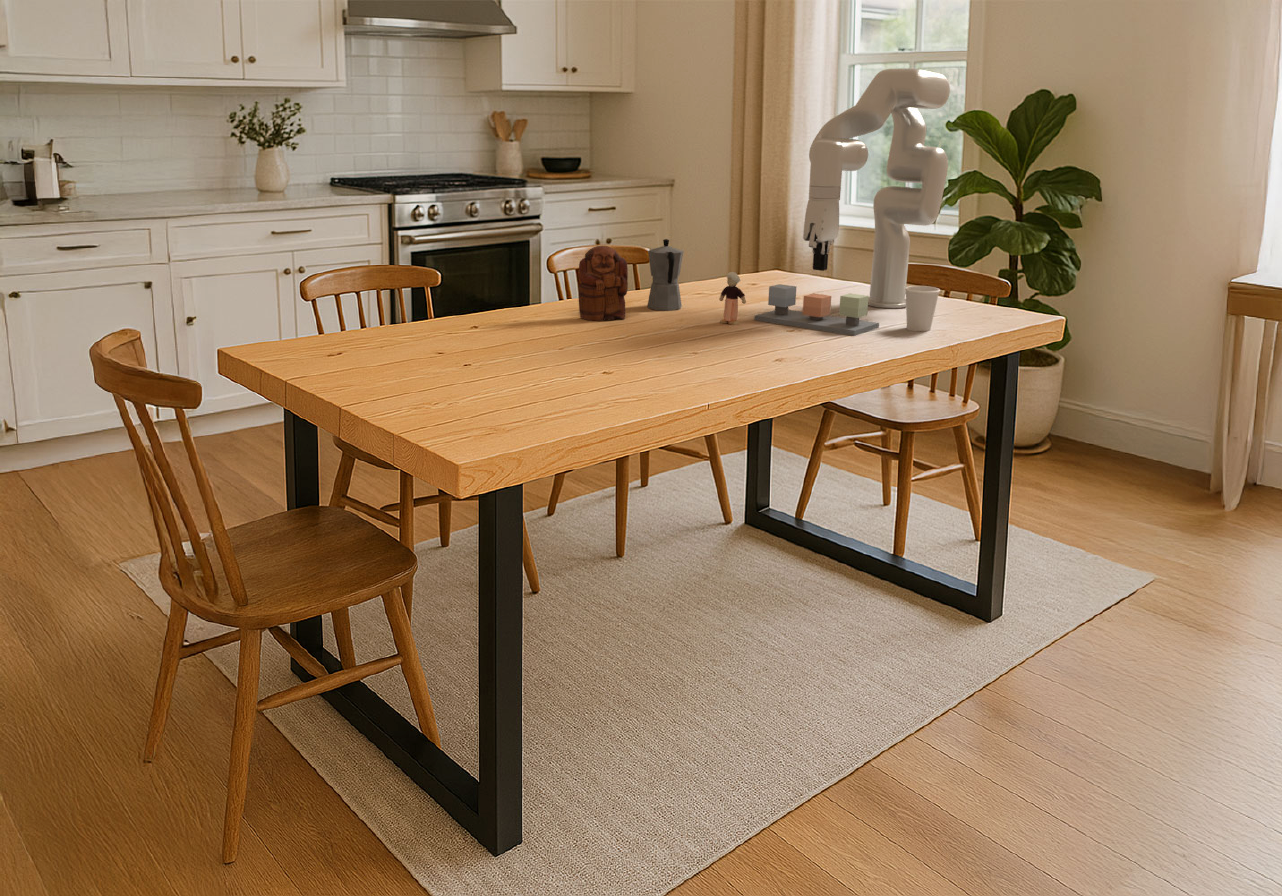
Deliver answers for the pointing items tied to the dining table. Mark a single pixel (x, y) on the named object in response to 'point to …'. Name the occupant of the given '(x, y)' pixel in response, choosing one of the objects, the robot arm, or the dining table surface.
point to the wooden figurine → (602, 284)
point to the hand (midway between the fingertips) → (819, 269)
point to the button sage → (853, 305)
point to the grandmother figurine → (731, 299)
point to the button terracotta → (816, 305)
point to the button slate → (782, 295)
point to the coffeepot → (665, 278)
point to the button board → (817, 321)
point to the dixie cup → (920, 307)
